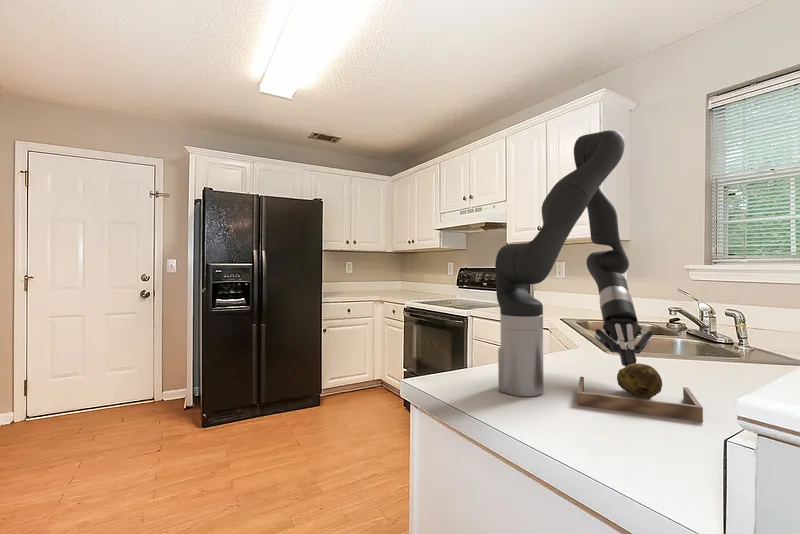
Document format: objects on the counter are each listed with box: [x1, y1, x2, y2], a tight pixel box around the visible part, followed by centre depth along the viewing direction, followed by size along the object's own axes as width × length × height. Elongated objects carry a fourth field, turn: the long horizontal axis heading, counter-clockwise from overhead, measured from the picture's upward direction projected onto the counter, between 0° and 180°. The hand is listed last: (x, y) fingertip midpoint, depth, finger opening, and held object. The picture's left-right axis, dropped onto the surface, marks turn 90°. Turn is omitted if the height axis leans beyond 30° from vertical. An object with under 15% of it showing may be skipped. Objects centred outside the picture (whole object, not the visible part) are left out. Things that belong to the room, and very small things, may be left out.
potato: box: [616, 362, 663, 400], centre depth 85 cm, size 8×13×8 cm, turn 150°
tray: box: [576, 376, 704, 422], centre depth 83 cm, size 21×14×2 cm, turn 64°
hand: (630, 366), depth 92 cm, fingers closed
